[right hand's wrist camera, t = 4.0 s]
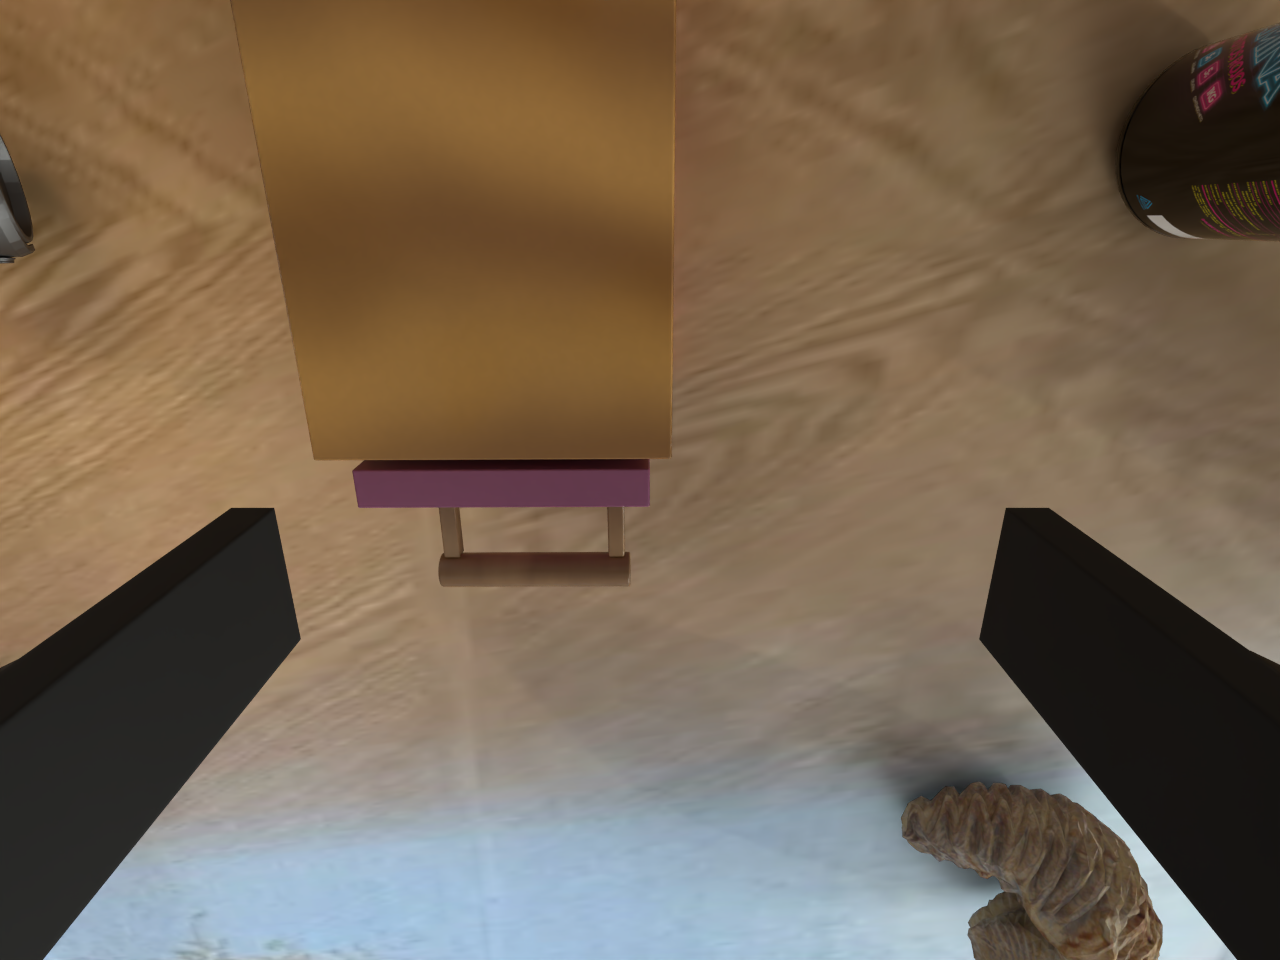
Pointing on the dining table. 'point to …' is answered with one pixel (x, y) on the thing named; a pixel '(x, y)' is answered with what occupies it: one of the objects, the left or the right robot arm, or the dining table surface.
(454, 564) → the drawer
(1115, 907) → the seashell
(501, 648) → the dining table surface
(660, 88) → the cabinet
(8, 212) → the sphere
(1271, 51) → the supplement container
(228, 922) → the dining table surface
